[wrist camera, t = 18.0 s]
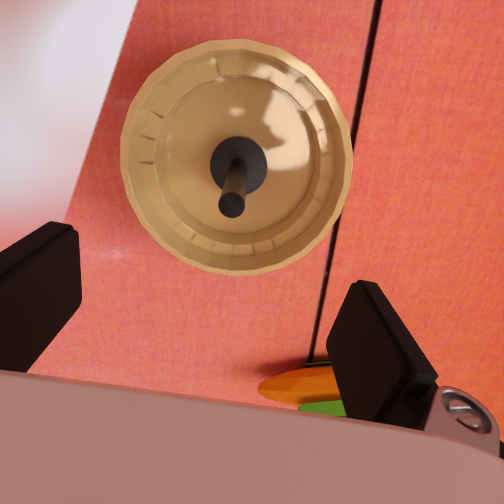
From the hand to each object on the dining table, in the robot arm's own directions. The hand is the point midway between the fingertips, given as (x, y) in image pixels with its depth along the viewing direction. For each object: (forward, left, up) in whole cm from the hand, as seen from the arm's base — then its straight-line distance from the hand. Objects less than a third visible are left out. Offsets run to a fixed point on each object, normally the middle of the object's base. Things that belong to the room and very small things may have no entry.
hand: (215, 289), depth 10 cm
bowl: (0, 0, -25) cm, 25 cm away
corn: (+31, -16, -25) cm, 43 cm away
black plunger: (0, 0, -25) cm, 25 cm away
